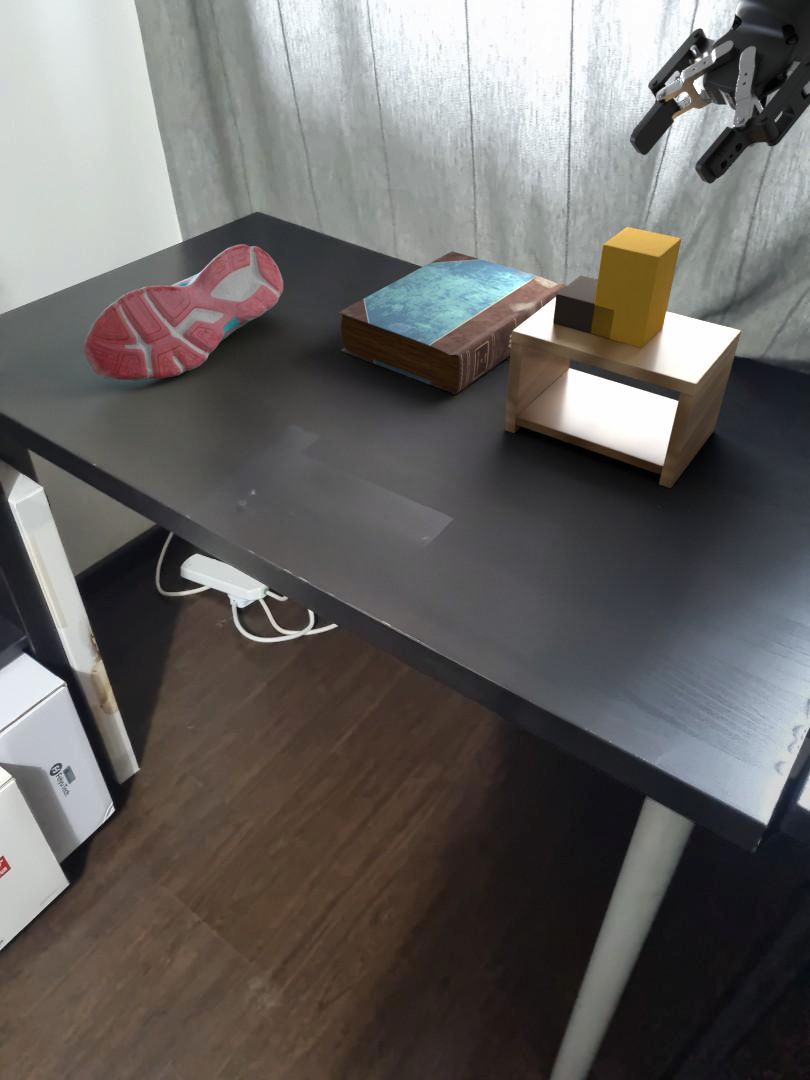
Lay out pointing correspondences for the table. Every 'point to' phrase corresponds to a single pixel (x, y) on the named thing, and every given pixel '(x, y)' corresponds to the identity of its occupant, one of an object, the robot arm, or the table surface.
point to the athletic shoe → (182, 317)
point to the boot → (623, 289)
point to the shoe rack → (621, 389)
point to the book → (445, 320)
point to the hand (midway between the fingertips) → (667, 161)
